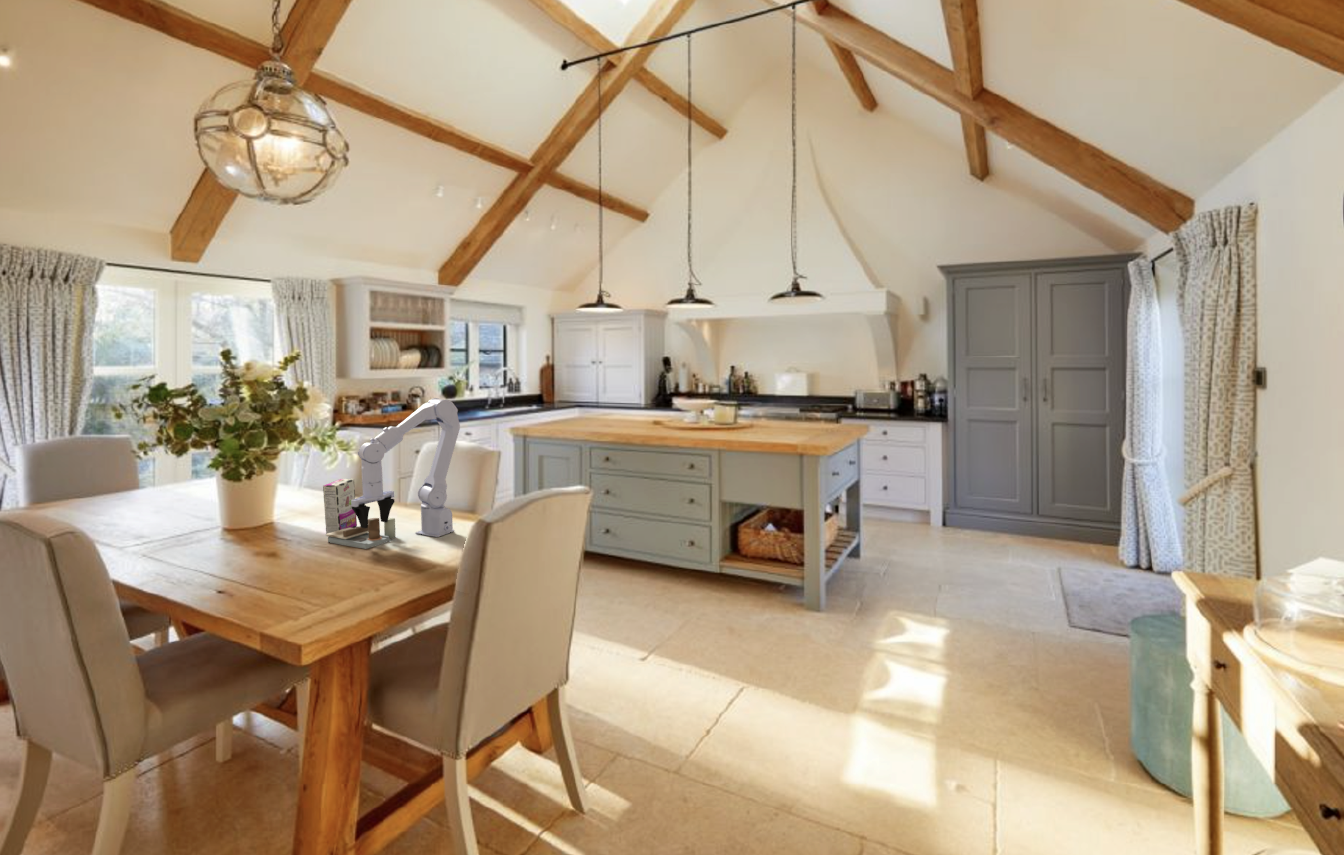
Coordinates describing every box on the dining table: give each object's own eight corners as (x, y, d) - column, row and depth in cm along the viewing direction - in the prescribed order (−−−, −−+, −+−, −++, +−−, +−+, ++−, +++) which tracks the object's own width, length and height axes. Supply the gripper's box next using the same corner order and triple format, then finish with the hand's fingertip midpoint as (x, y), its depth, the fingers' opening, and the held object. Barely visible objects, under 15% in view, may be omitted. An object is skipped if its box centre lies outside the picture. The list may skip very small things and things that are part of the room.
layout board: (389, 541, 204) (389, 536, 204) (365, 548, 196) (365, 543, 196) (352, 535, 210) (352, 530, 210) (328, 542, 202) (327, 537, 202)
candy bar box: (342, 525, 221) (340, 478, 219) (357, 526, 221) (355, 478, 219) (324, 534, 210) (322, 484, 208) (340, 535, 210) (337, 485, 208)
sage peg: (397, 537, 209) (397, 518, 208) (389, 539, 206) (389, 520, 205) (390, 535, 210) (389, 517, 209) (382, 538, 207) (381, 519, 207)
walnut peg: (375, 536, 205) (374, 517, 204) (382, 537, 203) (381, 518, 203) (366, 538, 202) (365, 519, 201) (373, 539, 200) (373, 520, 200)
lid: (368, 532, 207) (368, 524, 207) (345, 539, 199) (345, 531, 199) (349, 529, 210) (349, 521, 210) (326, 535, 202) (325, 528, 202)
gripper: (362, 487, 192) (364, 532, 194) (400, 478, 205) (402, 520, 207) (345, 485, 195) (347, 529, 197) (384, 476, 208) (385, 518, 210)
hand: (374, 524), depth 202 cm, fingers open, 7 cm apart
